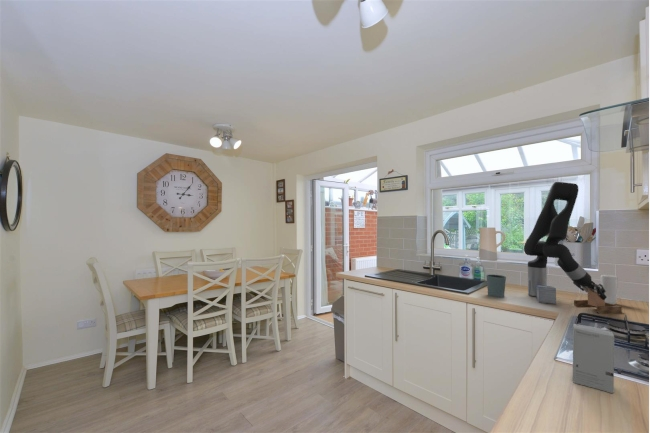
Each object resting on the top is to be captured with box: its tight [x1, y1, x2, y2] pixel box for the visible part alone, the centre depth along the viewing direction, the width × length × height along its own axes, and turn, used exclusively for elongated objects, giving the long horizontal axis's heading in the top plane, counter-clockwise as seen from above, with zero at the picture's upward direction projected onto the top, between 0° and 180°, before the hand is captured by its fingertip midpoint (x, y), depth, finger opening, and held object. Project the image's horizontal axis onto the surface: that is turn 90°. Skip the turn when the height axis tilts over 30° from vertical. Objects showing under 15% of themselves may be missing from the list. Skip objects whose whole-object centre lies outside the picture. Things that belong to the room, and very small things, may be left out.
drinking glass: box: [600, 274, 619, 305], centre depth 160 cm, size 7×7×15 cm
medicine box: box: [536, 285, 557, 305], centre depth 162 cm, size 8×4×9 cm, turn 65°
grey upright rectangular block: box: [572, 323, 615, 394], centre depth 79 cm, size 8×6×15 cm
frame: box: [573, 299, 623, 314], centre depth 148 cm, size 12×13×3 cm
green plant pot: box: [486, 274, 507, 298], centre depth 176 cm, size 10×10×12 cm
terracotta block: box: [587, 288, 605, 308], centre depth 148 cm, size 4×4×9 cm
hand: (599, 297), depth 149 cm, fingers closed on terracotta block, 4 cm apart
